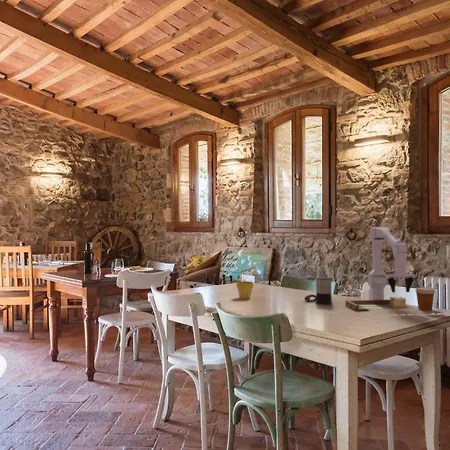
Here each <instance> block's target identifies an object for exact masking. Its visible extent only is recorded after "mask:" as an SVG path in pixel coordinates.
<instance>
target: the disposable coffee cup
mask: <svg viewBox="0 0 450 450" xmlns="http://www.w3.org/2000/svg"><path fill="white" fill-rule="evenodd" d="M414 291H415V293H416V300H417V302H416V303H417V308H418V310H419V311H422V312H423V311H424V312H429V311H430V312H432V311H433V307H434V298H435V294H436V290H435V288H433V287H428V286H427V287H425V286H423V287H420V286H419V287H415V290H414Z"/></svg>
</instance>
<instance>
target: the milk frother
mask: <svg viewBox="0 0 450 450" xmlns="http://www.w3.org/2000/svg"><path fill="white" fill-rule="evenodd" d="M315 279H316V280H315V281H316V283H315V284H316V285H315V286H316V287H315V291H316V292H315V293H316V295H315V294H308V295H305V297H304V301H305V302H311V303H313V302H315V304H317V305H324V306H325V305H326V306H327V305H332V304H333V301H332V300H333V299H332V277H328V276H317V277H315ZM311 298H314V299H311Z"/></svg>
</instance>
